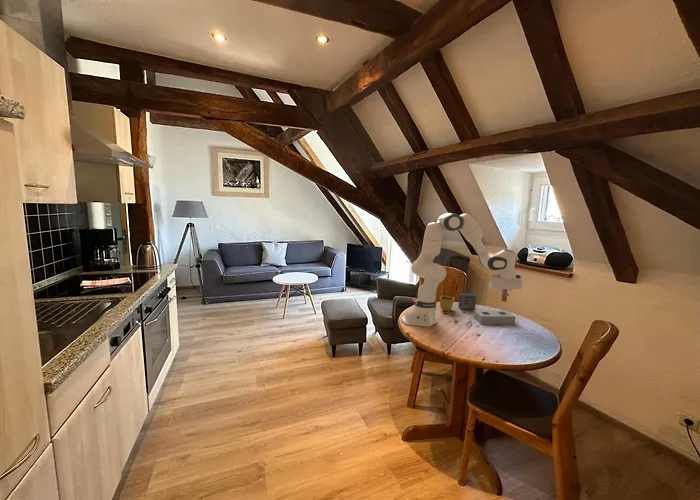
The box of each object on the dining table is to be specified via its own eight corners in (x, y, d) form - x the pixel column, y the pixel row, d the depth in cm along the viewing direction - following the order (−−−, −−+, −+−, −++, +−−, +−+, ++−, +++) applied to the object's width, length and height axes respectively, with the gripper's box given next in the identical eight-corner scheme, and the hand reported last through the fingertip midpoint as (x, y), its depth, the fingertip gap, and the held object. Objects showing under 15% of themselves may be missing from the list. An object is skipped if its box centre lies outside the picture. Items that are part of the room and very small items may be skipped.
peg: (502, 301, 202) (504, 286, 200) (500, 300, 205) (501, 285, 203) (507, 301, 202) (508, 286, 200) (505, 300, 205) (506, 285, 203)
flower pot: (453, 309, 226) (454, 297, 224) (451, 313, 218) (452, 300, 217) (441, 307, 230) (441, 295, 228) (439, 311, 222) (439, 298, 220)
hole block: (480, 323, 200) (481, 316, 199) (473, 317, 211) (474, 310, 210) (514, 324, 200) (515, 316, 199) (506, 317, 211) (506, 310, 210)
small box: (472, 307, 231) (473, 293, 229) (475, 310, 224) (476, 296, 223) (458, 306, 232) (458, 292, 230) (460, 309, 225) (461, 295, 224)
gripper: (492, 275, 197) (490, 297, 200) (524, 276, 198) (522, 297, 200) (487, 273, 203) (486, 294, 206) (519, 273, 204) (517, 294, 206)
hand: (504, 295), depth 203 cm, fingers closed on peg, 3 cm apart
